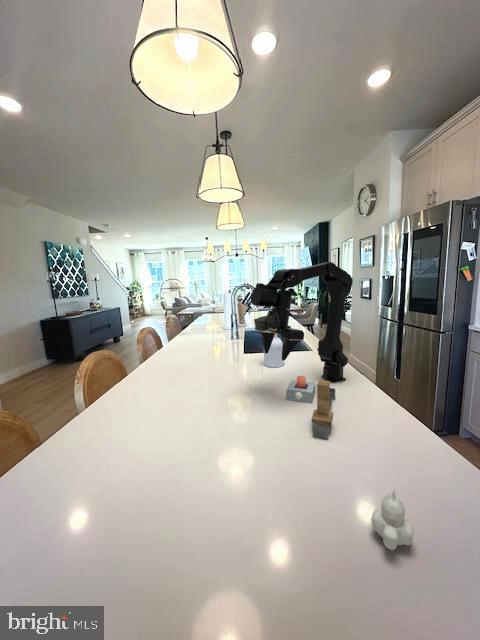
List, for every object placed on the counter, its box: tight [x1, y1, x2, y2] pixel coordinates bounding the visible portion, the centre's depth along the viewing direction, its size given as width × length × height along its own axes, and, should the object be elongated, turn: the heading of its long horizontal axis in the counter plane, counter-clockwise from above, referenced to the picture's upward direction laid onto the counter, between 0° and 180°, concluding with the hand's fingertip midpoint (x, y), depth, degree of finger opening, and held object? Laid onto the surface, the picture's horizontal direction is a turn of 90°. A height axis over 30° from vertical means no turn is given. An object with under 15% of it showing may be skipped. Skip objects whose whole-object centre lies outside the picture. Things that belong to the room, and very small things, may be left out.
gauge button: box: [296, 375, 307, 389], centre depth 88 cm, size 3×3×4 cm
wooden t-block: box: [311, 380, 334, 432], centre depth 69 cm, size 5×5×11 cm
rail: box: [312, 387, 336, 441], centre depth 76 cm, size 24×4×3 cm, turn 156°
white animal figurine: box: [371, 489, 414, 551], centre depth 40 cm, size 5×7×8 cm
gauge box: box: [285, 379, 316, 404], centre depth 88 cm, size 8×8×4 cm
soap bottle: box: [263, 313, 285, 368], centre depth 118 cm, size 9×9×25 cm
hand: (274, 356), depth 86 cm, fingers open, 9 cm apart
